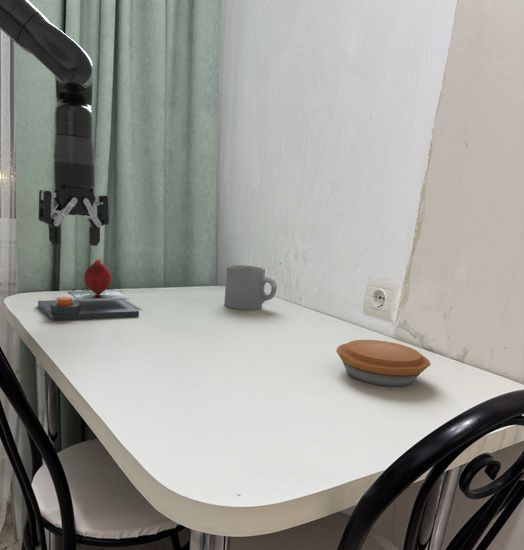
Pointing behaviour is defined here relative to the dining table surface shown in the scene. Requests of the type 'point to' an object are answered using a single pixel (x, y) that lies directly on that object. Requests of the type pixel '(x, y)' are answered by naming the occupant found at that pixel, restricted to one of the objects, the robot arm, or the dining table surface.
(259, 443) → the dining table surface
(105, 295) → the weighing plate
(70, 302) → the tare button
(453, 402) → the dining table surface
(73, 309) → the scale
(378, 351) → the pie
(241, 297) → the coffee mug
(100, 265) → the onion
